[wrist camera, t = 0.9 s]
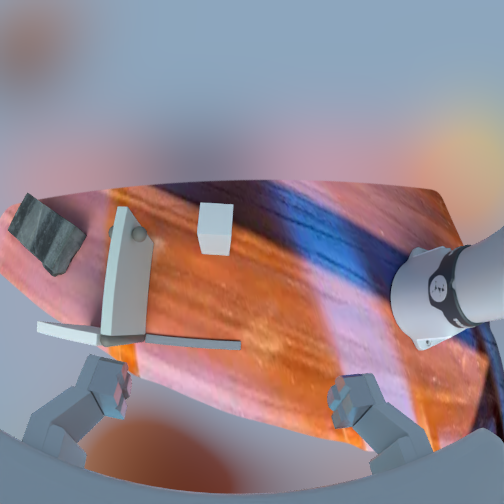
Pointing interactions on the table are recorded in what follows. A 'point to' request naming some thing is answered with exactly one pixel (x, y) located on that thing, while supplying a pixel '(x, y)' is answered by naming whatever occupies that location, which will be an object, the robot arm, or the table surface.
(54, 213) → the stone block
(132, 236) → the door
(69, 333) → the wall
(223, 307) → the table surface
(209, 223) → the light grey block
